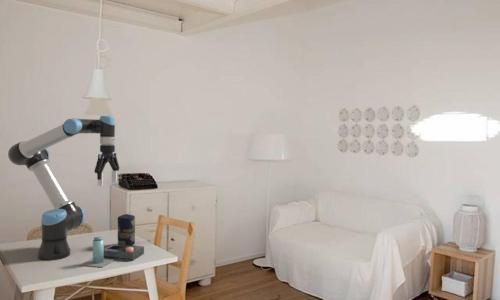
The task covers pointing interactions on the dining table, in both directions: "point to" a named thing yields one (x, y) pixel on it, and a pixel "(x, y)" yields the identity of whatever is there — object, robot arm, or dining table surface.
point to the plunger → (130, 249)
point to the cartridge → (98, 250)
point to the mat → (101, 265)
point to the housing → (123, 252)
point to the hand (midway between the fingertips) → (107, 184)
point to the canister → (126, 229)
